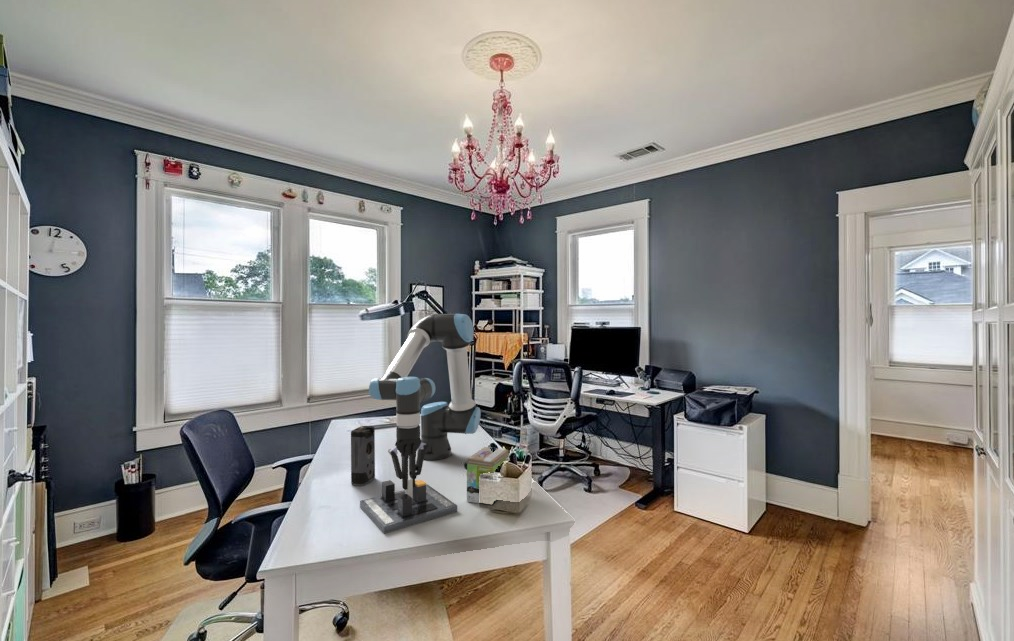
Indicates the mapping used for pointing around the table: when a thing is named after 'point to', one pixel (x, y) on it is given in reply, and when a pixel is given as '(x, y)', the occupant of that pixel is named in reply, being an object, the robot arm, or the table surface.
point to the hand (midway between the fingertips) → (408, 498)
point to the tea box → (482, 469)
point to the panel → (409, 519)
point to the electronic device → (362, 455)
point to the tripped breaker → (419, 491)
